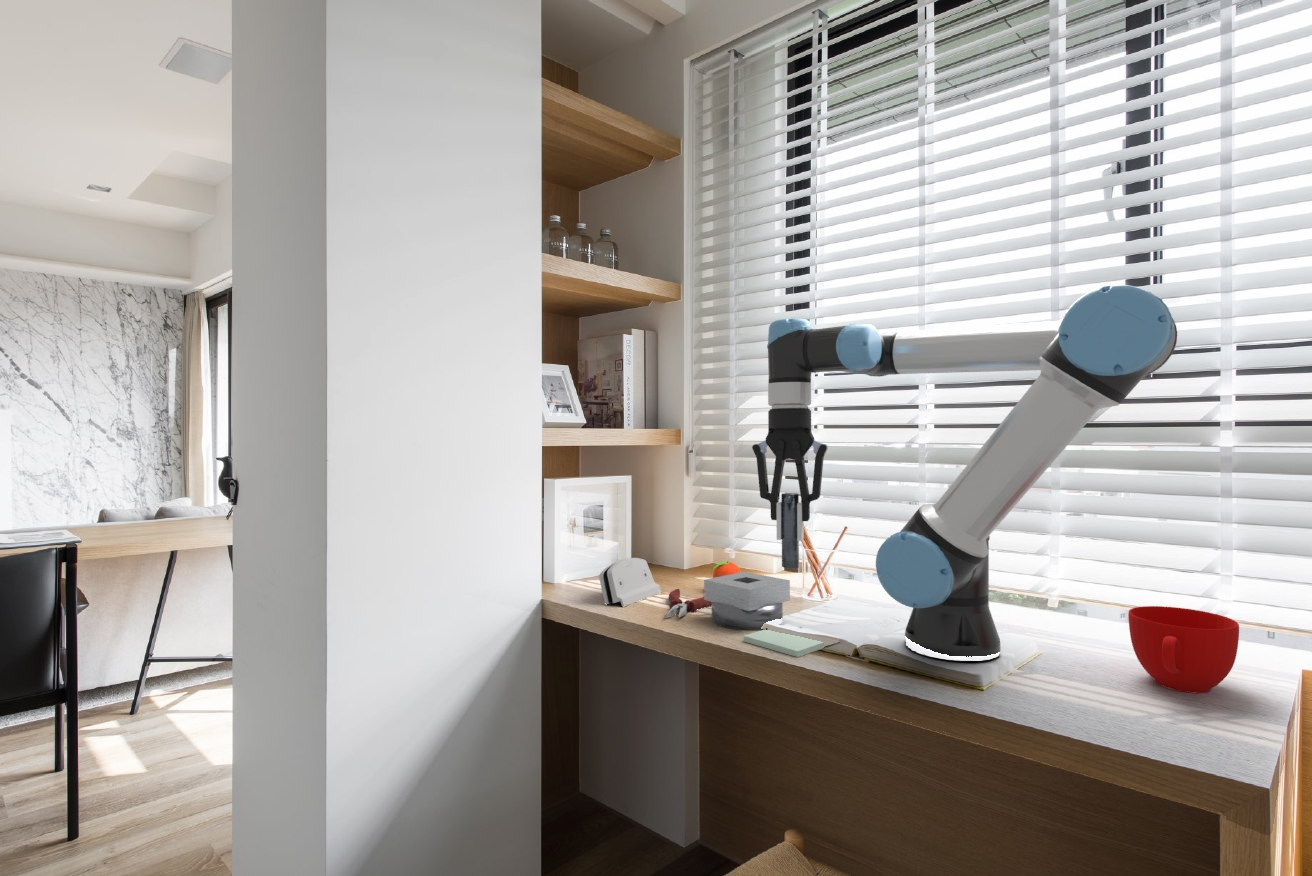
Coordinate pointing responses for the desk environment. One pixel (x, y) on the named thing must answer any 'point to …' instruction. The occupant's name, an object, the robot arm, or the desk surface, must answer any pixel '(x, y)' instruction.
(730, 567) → the clementine
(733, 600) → the chuck block
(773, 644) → the sage mat
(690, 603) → the pliers
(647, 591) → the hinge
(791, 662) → the desk surface
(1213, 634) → the ceramic cup
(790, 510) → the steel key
